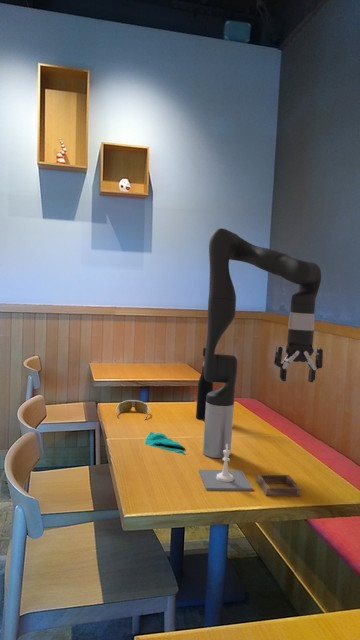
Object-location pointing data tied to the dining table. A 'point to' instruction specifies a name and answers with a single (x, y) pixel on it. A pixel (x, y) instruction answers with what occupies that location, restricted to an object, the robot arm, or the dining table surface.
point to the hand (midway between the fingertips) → (297, 381)
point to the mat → (214, 484)
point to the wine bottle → (202, 393)
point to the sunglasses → (136, 404)
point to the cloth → (163, 442)
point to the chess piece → (225, 468)
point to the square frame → (278, 491)
